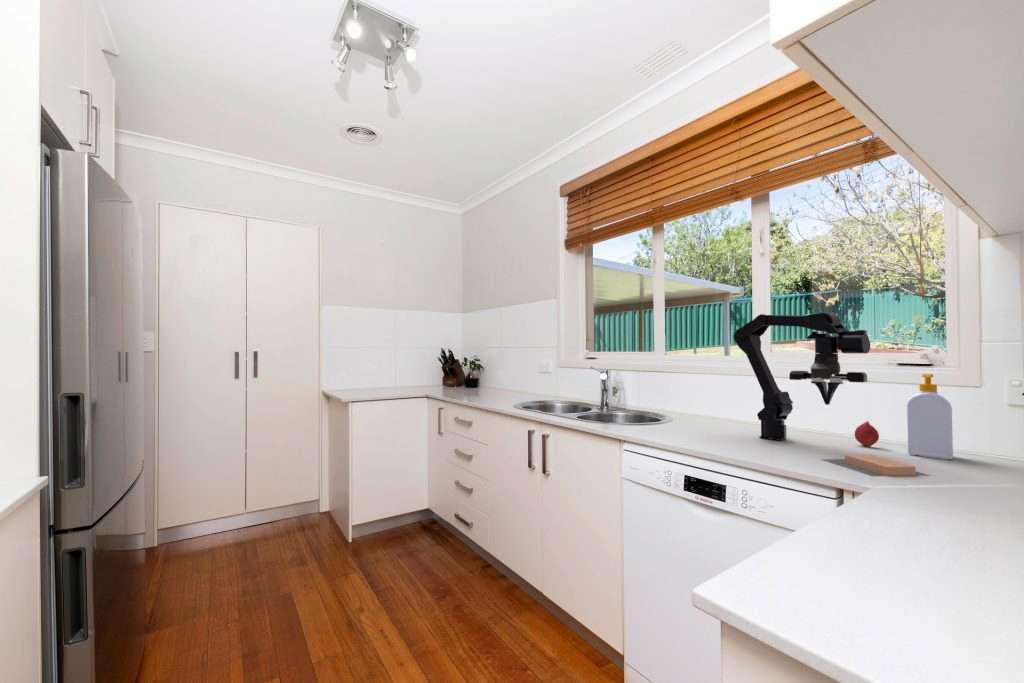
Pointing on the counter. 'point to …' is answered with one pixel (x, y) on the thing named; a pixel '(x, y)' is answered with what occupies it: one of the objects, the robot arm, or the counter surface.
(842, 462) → the charcoal mat
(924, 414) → the soap bottle
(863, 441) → the onion
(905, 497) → the counter surface
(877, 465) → the terracotta block
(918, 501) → the counter surface
